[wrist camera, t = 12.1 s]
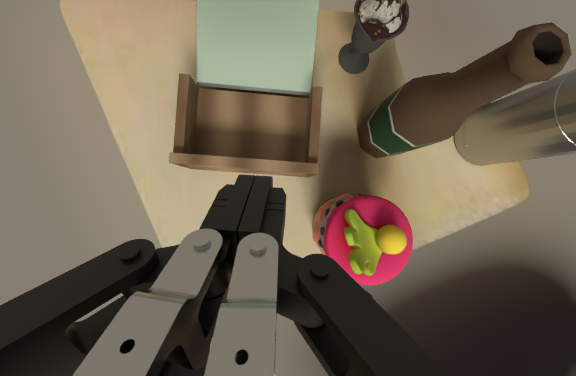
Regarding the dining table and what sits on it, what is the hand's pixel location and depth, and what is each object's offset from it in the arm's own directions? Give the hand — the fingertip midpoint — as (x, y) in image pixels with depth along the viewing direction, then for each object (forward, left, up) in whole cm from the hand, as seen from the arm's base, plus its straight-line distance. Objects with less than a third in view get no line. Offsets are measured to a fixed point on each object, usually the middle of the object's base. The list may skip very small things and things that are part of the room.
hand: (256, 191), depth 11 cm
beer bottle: (-17, -10, -27) cm, 33 cm away
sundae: (-12, -22, -27) cm, 37 cm away
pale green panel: (+3, -15, -23) cm, 28 cm away
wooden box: (+3, -8, -26) cm, 28 cm away
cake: (-12, +5, -27) cm, 30 cm away
